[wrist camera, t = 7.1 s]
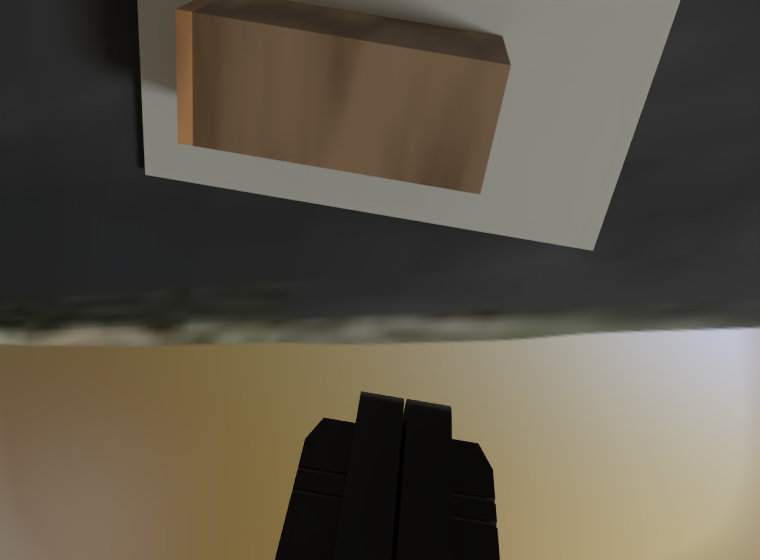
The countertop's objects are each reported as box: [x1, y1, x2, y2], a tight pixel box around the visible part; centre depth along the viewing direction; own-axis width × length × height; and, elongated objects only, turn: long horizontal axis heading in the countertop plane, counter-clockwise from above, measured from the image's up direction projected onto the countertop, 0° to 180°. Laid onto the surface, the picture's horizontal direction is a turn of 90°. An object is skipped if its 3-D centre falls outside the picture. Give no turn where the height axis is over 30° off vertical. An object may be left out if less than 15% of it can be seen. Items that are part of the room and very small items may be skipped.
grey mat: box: [137, 0, 680, 251], centre depth 30 cm, size 22×13×1 cm, turn 82°
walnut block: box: [175, 0, 511, 194], centre depth 27 cm, size 5×5×12 cm
